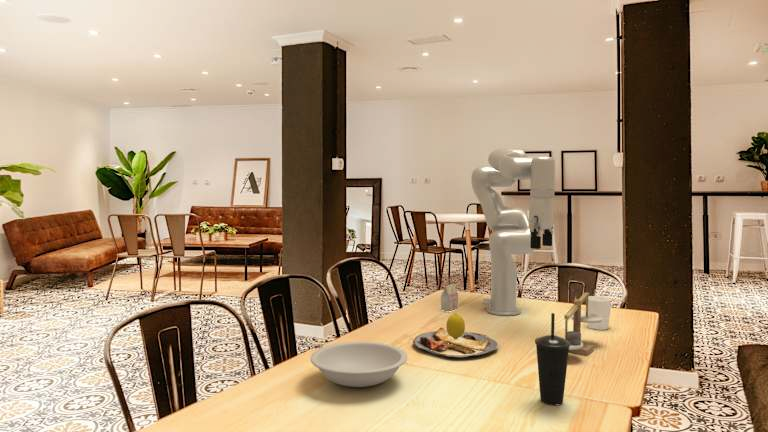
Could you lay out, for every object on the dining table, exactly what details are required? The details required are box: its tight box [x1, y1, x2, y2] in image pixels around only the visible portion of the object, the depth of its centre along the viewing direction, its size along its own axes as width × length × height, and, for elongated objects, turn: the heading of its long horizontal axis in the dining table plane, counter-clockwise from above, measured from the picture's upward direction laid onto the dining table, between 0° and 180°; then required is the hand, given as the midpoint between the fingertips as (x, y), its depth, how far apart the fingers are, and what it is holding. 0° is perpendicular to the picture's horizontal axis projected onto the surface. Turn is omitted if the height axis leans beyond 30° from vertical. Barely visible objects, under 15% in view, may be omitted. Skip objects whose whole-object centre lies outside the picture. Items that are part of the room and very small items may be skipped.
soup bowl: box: [310, 340, 408, 388], centre depth 131 cm, size 24×24×7 cm
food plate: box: [412, 327, 499, 358], centre depth 159 cm, size 25×23×4 cm
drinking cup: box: [534, 312, 571, 406], centre depth 119 cm, size 8×8×20 cm
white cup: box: [586, 295, 612, 331], centre depth 180 cm, size 8×8×10 cm
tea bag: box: [440, 283, 459, 312], centre depth 206 cm, size 4×7×10 cm, turn 143°
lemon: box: [446, 313, 466, 339], centre depth 159 cm, size 6×6×8 cm
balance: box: [563, 291, 603, 356], centre depth 155 cm, size 9×27×16 cm, turn 141°
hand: (541, 247), depth 173 cm, fingers open, 9 cm apart
